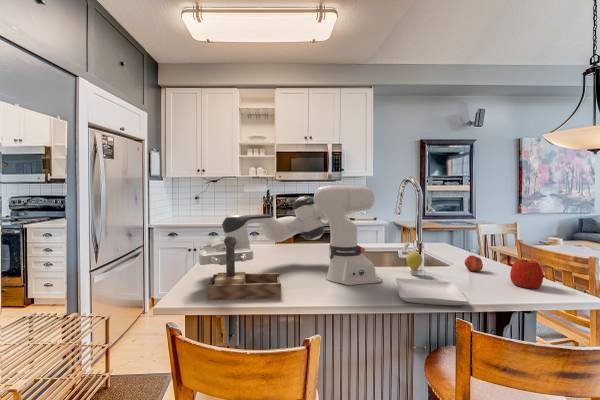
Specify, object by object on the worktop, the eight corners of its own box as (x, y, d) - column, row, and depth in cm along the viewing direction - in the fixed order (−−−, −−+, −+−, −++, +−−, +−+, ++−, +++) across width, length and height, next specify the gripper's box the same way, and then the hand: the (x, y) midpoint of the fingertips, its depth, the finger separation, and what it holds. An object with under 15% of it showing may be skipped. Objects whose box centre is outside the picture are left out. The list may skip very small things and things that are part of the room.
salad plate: (469, 311, 106) (469, 300, 105) (399, 305, 110) (399, 295, 110) (452, 289, 126) (453, 280, 126) (394, 286, 131) (394, 277, 130)
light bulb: (406, 276, 143) (406, 253, 143) (405, 272, 150) (405, 250, 149) (422, 277, 142) (423, 254, 141) (421, 273, 148) (421, 251, 148)
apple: (541, 284, 132) (542, 257, 132) (544, 292, 123) (546, 263, 122) (509, 280, 138) (510, 254, 137) (510, 287, 128) (511, 260, 128)
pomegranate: (461, 274, 155) (469, 265, 147) (460, 259, 159) (467, 250, 151) (478, 276, 154) (487, 268, 146) (477, 262, 158) (485, 253, 150)
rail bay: (279, 285, 130) (279, 272, 130) (280, 297, 116) (280, 283, 116) (214, 287, 128) (214, 274, 127) (207, 300, 114) (207, 285, 113)
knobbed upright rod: (245, 285, 126) (245, 233, 125) (243, 292, 117) (243, 237, 116) (218, 285, 125) (217, 233, 124) (214, 293, 116) (214, 237, 115)
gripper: (247, 258, 137) (258, 266, 125) (196, 263, 128) (202, 272, 116) (247, 243, 137) (258, 249, 124) (196, 247, 128) (202, 254, 115)
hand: (230, 260), depth 120 cm, fingers open, 8 cm apart
